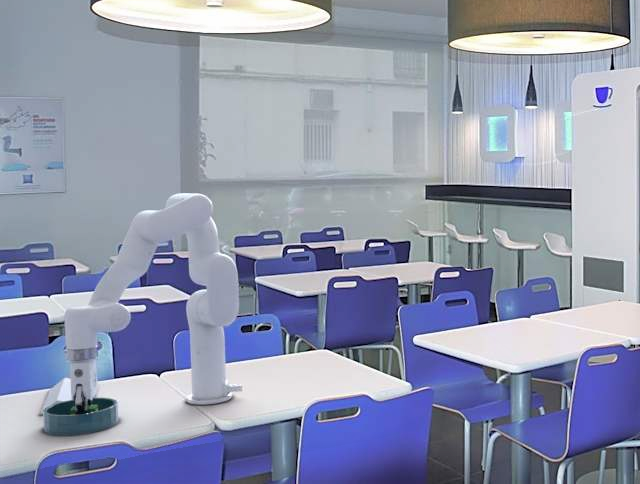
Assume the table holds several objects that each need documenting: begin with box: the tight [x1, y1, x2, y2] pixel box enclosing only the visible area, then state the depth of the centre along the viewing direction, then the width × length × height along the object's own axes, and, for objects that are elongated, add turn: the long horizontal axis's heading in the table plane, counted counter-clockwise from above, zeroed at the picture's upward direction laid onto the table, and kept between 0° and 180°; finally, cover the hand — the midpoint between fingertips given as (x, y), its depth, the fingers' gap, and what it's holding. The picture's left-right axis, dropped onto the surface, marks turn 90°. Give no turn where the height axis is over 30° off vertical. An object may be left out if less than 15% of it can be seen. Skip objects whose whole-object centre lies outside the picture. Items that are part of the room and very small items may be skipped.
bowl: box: [42, 397, 119, 436], centre depth 229 cm, size 18×18×5 cm
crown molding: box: [40, 377, 72, 416], centre depth 255 cm, size 29×12×4 cm, turn 21°
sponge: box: [70, 405, 98, 415], centre depth 227 cm, size 6×4×4 cm, turn 103°
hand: (84, 423), depth 227 cm, fingers closed on sponge, 4 cm apart
